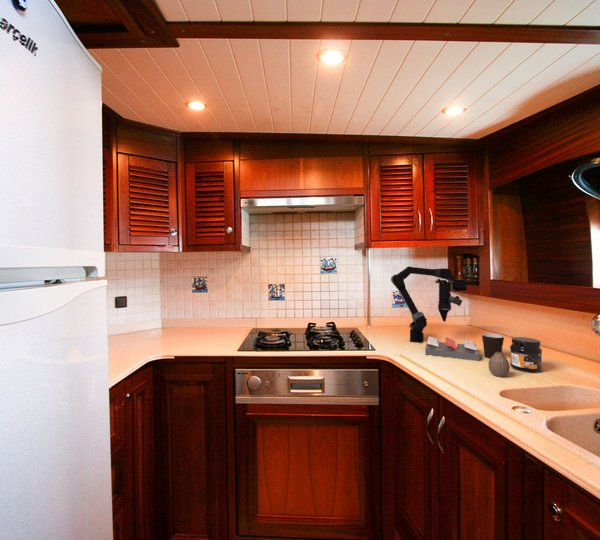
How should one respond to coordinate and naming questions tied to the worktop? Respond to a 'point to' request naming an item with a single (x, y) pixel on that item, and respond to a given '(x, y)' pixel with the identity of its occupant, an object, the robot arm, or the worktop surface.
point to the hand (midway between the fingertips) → (444, 320)
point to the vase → (499, 365)
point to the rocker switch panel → (452, 351)
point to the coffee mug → (492, 344)
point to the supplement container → (526, 354)
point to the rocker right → (470, 345)
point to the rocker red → (451, 343)
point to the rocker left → (433, 341)
